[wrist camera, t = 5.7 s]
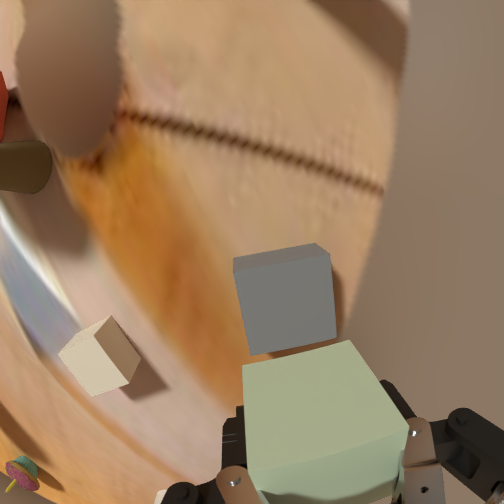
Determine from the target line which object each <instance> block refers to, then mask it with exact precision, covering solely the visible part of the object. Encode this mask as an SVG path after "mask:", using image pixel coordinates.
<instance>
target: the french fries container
mask: <svg viewBox="0 0 504 504" xmlns="http://www.w3.org/2000/svg"><path fill="white" fill-rule="evenodd" d="M8 97H9V95H8V91H7V88H6V85H5V82H4V78H3V75H2V72H1V71H0V140H1V139H2V137H3V132H4V123H5V116H6V109H7V103H8Z"/></svg>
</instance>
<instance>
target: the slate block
mask: <svg viewBox="0 0 504 504" xmlns="http://www.w3.org/2000/svg"><path fill="white" fill-rule="evenodd" d="M233 273H234V278H235V283H236V288H237V293H238V298H239V303H240V308H241V313H242V317H243V322H244V327H245V332H246V337H247V341H248V346H249V351H250V355H251V356H252V355H258V354H263V353H269V352H274V351H279V350H284V349H289V348H294V347H299V346H303V345H308V344H312V343H317V342H321V341H325V340H330V339H334V338H337V333H336V317H335V304H334V291H333V280H332V270H331V260H330V254H329V253H328V252H327V251H325V250H324V249H323V248H321V247H320V246H318V245H317V244H316V243H312V244H307V245H301V246H296V247H290V248H285V249H279V250H274V251H268V252H263V253H257V254H252V255H246V256H241V257H235V258H233Z"/></svg>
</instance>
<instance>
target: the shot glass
mask: <svg viewBox="0 0 504 504" xmlns="http://www.w3.org/2000/svg"><path fill="white" fill-rule="evenodd" d="M166 491H167V490H160V491H158V493H157V496H156V499H155V502H154V504H160V503H161V501H162V499H163V497H164V495H165V493H166Z"/></svg>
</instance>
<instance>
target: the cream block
mask: <svg viewBox="0 0 504 504" xmlns="http://www.w3.org/2000/svg"><path fill="white" fill-rule="evenodd" d="M58 355H59V356H60V358H61V359H62V361H63V362H64V363H65V365H66V366H67V367H68V369H69V370H70V371H71V373H72V374H73V375H74V376H75V378H76V379H77V380H78V381H79V383H80V384H81V385H82V386H83V388H84V389H85V390H86V391H87V392H88V394H89V395H90V396H91V397H93V396H96V395H99V394H101V393H104V392H107V391H110V390H113V389H115V388H118V387H121V386H124V385H126V384H129V383H130V381H131V379H132V377H133V375H134V373H135V371H136V368H137V366H138V364H139V362H140V360H141V357H140V356H139V355H138V353H137V352H136V351H135V349H134V348H133V346H132V345H131V344H130V342H129V341H128V339H127V338H126V337H125V335H124V334H123V332H122V331H121V329H120V328H119V326H118V325H117V323H116V322H115V320H114V319H113V317H112V316H109V317H107V318H105V319H103V320H101V321H99V322H98V323H96V324H94V325H92V326H90V327H88V328H86V329H85V330H83V331H81V332H79V333H77V334H76V335H75V336H74V337H73V338H72V339H71V340H70V341H69V342H68V344H67V345H66V346H65V347H64V348H63V349H62V350H61V351H60V352H59V353H58Z"/></svg>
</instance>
